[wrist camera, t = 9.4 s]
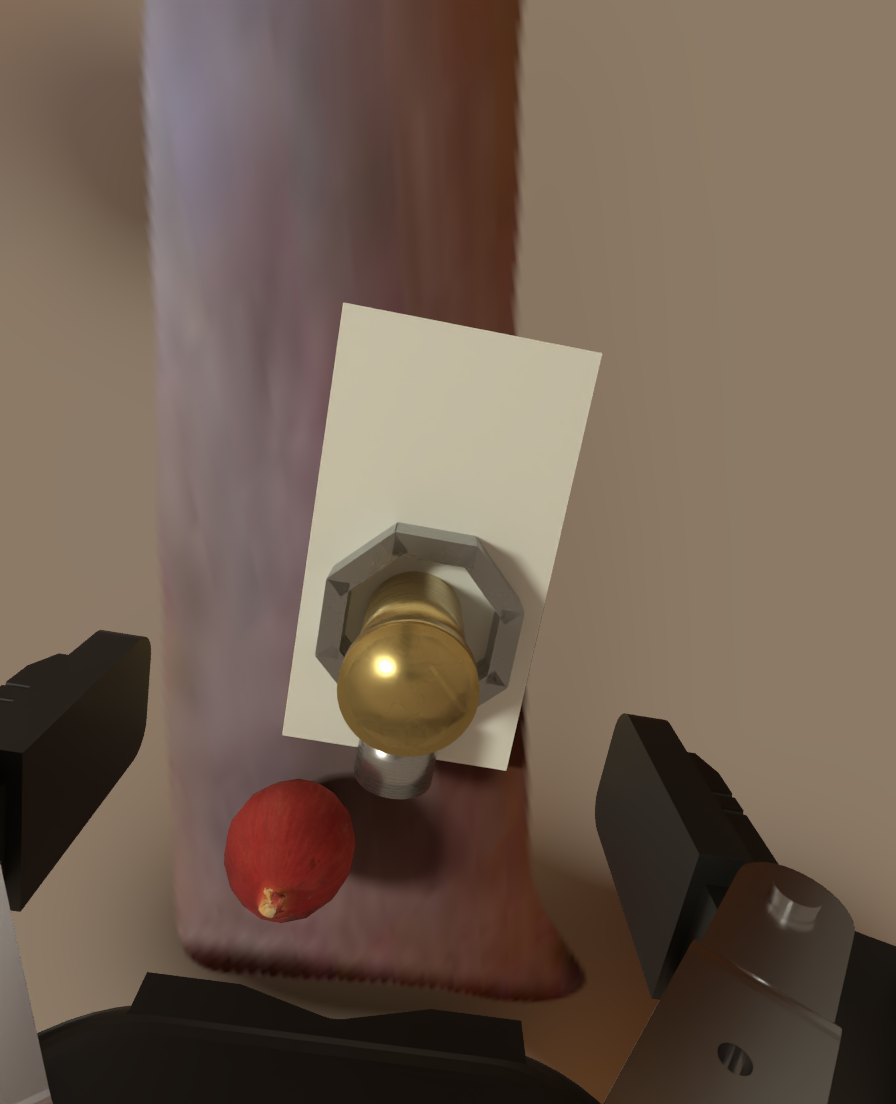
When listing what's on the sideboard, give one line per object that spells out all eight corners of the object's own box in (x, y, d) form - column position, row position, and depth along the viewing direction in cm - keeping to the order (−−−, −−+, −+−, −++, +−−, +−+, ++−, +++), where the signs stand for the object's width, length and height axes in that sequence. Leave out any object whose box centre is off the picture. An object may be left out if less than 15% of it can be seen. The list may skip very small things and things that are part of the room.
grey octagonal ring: (341, 511, 31) (329, 529, 28) (530, 545, 32) (542, 567, 28) (306, 740, 34) (291, 783, 30) (481, 768, 34) (486, 813, 31)
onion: (372, 840, 36) (354, 966, 29) (263, 856, 37) (216, 986, 29) (350, 740, 35) (325, 844, 27) (237, 757, 35) (180, 866, 27)
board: (346, 304, 30) (343, 302, 29) (597, 353, 31) (602, 353, 30) (286, 725, 35) (282, 735, 34) (504, 759, 35) (506, 770, 34)
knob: (369, 556, 32) (348, 613, 24) (478, 574, 32) (492, 637, 24) (352, 658, 33) (327, 745, 25) (457, 675, 33) (465, 766, 25)
